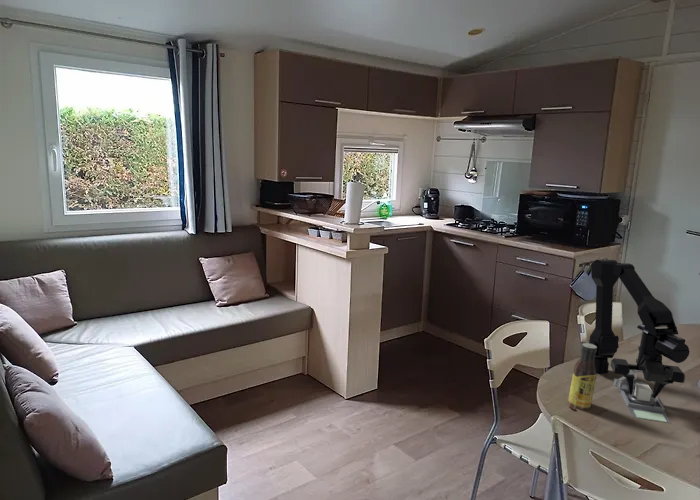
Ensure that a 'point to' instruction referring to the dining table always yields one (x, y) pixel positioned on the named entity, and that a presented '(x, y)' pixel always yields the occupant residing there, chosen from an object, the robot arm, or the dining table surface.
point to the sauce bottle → (583, 379)
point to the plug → (642, 395)
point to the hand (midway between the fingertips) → (642, 396)
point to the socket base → (644, 406)
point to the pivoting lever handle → (623, 380)
